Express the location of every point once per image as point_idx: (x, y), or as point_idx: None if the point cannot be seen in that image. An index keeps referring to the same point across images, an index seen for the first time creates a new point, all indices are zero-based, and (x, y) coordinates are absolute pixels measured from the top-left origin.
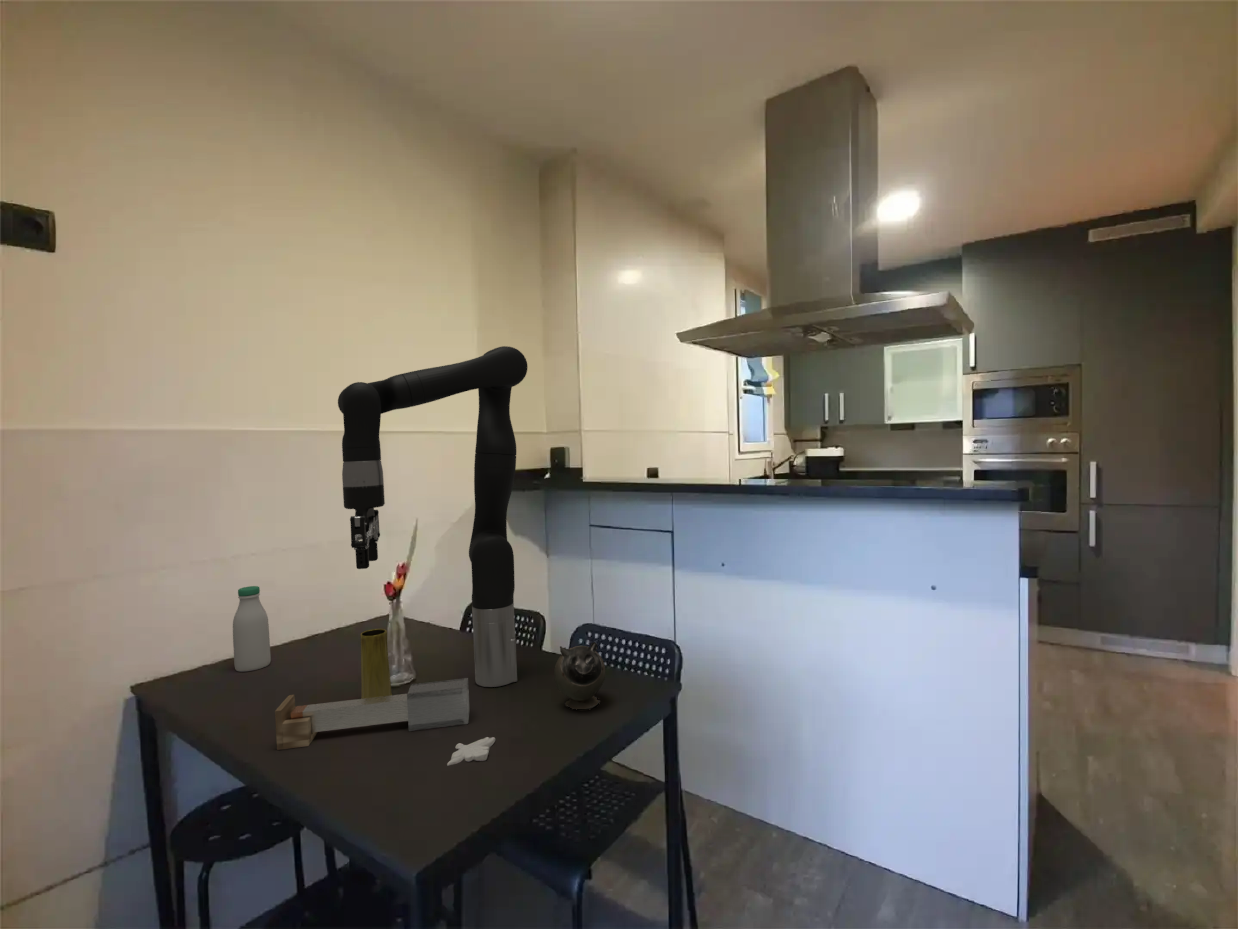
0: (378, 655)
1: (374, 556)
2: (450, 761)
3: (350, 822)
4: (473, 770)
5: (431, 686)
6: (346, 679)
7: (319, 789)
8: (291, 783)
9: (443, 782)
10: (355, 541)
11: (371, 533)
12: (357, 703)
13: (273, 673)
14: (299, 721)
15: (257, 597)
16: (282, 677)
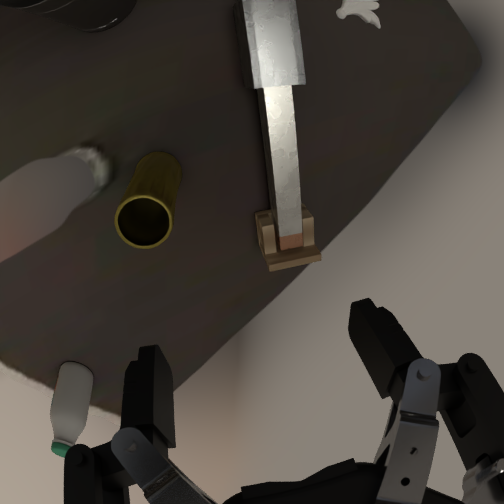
0: (167, 187)
1: (160, 365)
2: (379, 24)
3: (443, 110)
4: (391, 4)
5: (273, 49)
6: (88, 255)
7: (395, 152)
8: (377, 184)
9: (407, 33)
10: (463, 403)
11: (424, 437)
12: (290, 164)
13: (87, 347)
14: (312, 226)
15: (59, 438)
16: (95, 334)
